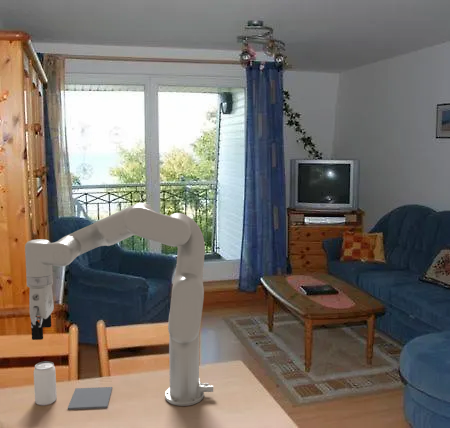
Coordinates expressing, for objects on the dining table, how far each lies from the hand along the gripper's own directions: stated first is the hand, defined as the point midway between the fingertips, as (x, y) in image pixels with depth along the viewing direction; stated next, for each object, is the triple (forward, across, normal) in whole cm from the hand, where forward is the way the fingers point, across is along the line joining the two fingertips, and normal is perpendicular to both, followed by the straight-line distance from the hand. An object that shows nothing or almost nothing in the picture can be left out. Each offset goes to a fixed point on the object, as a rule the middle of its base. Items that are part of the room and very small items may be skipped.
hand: (42, 333), depth 152 cm
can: (+23, 0, 0) cm, 23 cm away
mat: (+22, 0, -14) cm, 27 cm away
